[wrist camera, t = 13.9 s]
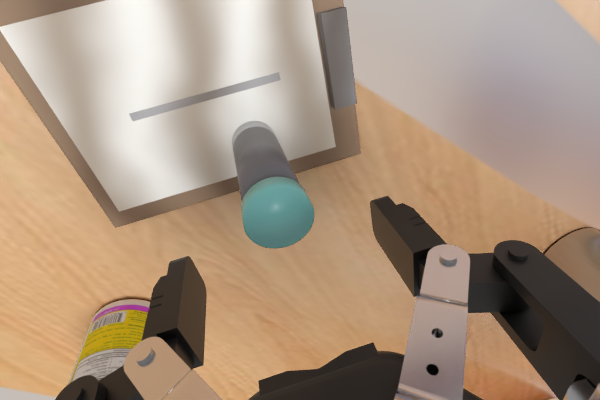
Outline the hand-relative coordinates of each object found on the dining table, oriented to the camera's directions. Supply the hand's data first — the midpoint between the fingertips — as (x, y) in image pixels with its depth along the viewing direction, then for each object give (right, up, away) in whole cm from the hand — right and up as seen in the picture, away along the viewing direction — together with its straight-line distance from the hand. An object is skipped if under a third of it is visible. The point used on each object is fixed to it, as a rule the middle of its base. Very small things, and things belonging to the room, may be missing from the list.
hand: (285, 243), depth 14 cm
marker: (-3, +6, +10) cm, 12 cm away
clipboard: (-6, +9, +8) cm, 13 cm away
